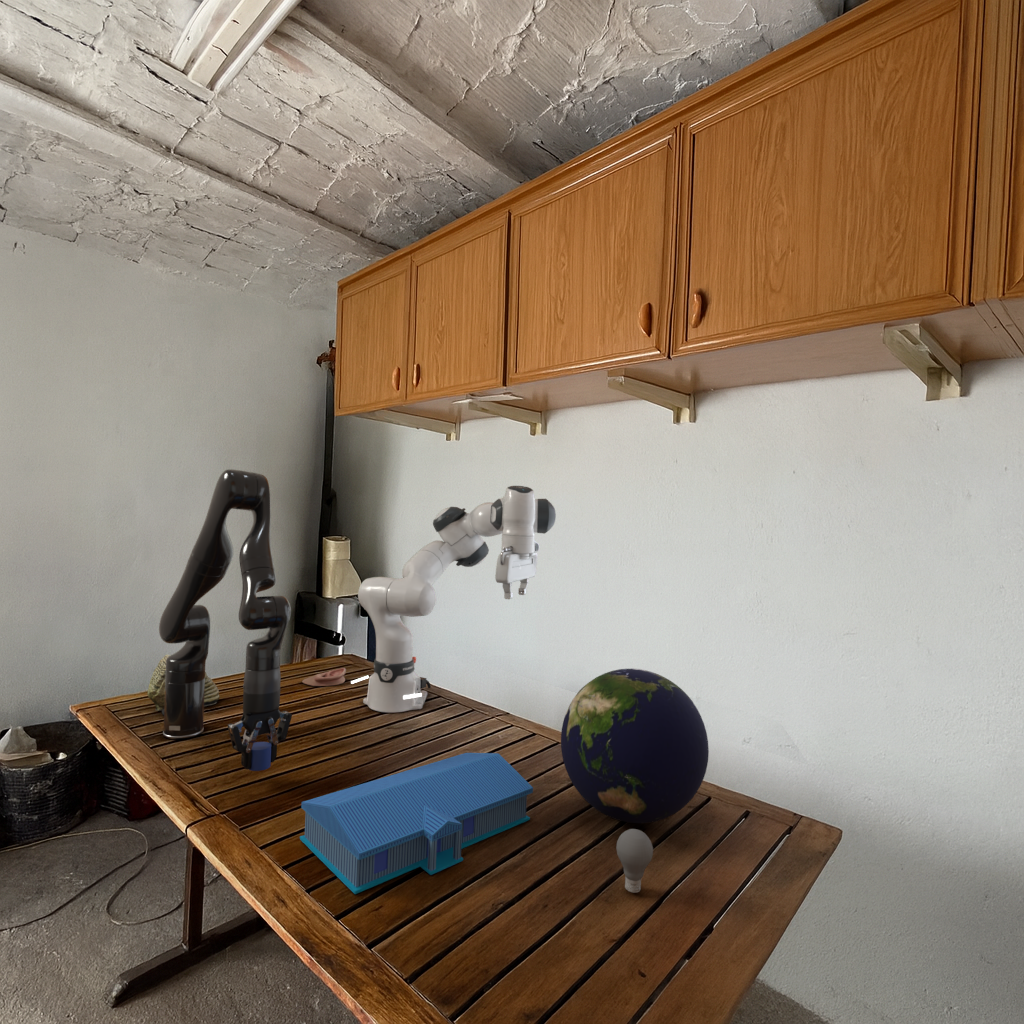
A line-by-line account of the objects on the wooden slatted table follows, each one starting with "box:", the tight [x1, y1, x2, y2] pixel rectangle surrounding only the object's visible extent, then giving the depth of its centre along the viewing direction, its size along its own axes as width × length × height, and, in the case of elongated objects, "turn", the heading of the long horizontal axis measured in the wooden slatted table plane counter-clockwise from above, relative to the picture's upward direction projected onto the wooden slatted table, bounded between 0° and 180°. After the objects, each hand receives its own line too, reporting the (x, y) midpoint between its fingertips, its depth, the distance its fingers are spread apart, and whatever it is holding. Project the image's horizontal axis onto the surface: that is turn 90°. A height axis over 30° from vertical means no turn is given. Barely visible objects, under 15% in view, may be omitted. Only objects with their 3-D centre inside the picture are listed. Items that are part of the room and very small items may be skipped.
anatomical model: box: [301, 667, 347, 687], centre depth 214 cm, size 13×4×12 cm
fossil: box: [147, 654, 221, 712], centre depth 185 cm, size 9×18×15 cm, turn 132°
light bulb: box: [615, 828, 654, 894], centre depth 106 cm, size 6×6×10 cm
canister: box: [248, 741, 272, 772], centre depth 139 cm, size 5×5×5 cm
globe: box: [560, 668, 710, 824], centre depth 131 cm, size 30×30×30 cm
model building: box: [299, 752, 534, 895], centre depth 121 cm, size 39×24×10 cm, turn 132°
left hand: (259, 764), depth 139 cm, fingers closed on canister, 4 cm apart
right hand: (515, 596), depth 171 cm, fingers open, 8 cm apart
